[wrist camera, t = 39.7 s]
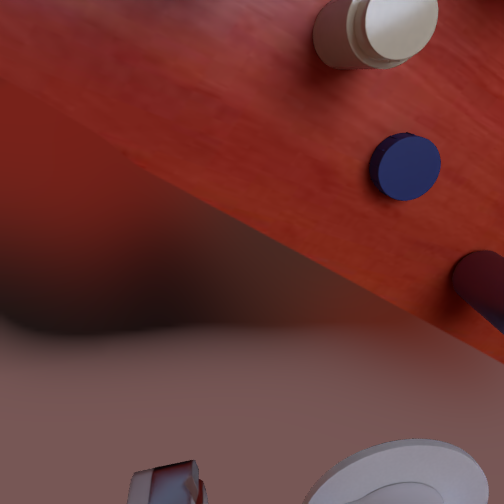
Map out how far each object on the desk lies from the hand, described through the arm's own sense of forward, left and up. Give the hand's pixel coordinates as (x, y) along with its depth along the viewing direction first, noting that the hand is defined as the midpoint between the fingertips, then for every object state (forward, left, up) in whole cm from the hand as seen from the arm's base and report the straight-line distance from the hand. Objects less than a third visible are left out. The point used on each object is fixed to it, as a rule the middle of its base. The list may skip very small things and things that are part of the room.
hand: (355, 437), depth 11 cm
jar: (+14, -5, -31) cm, 34 cm away
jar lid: (+5, -14, -29) cm, 33 cm away
